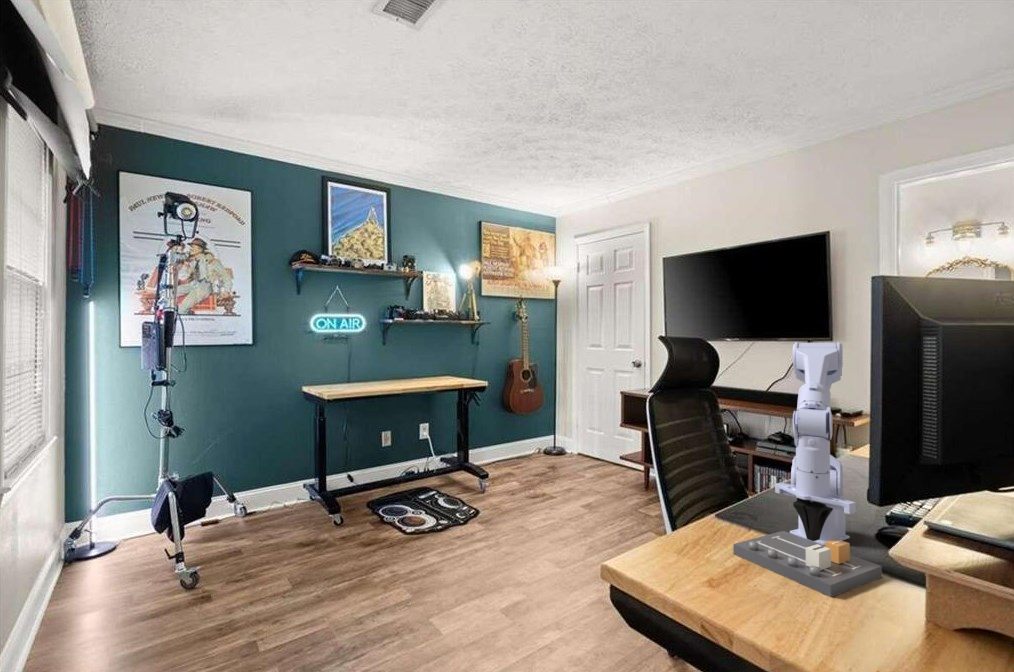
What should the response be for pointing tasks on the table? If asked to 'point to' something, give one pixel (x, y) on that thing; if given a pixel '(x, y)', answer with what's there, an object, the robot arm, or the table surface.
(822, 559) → the fader
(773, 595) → the table surface
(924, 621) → the table surface
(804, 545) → the mixer board
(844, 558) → the fader
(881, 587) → the table surface
